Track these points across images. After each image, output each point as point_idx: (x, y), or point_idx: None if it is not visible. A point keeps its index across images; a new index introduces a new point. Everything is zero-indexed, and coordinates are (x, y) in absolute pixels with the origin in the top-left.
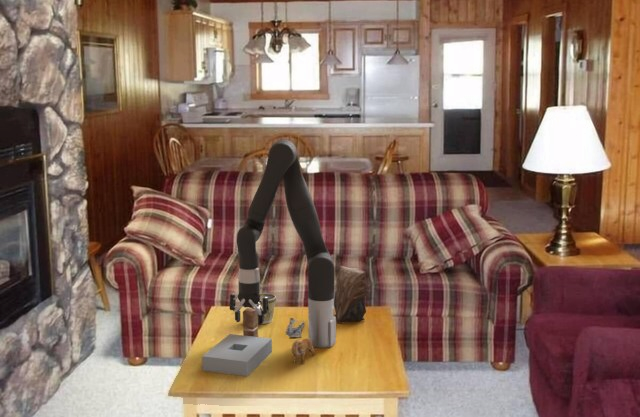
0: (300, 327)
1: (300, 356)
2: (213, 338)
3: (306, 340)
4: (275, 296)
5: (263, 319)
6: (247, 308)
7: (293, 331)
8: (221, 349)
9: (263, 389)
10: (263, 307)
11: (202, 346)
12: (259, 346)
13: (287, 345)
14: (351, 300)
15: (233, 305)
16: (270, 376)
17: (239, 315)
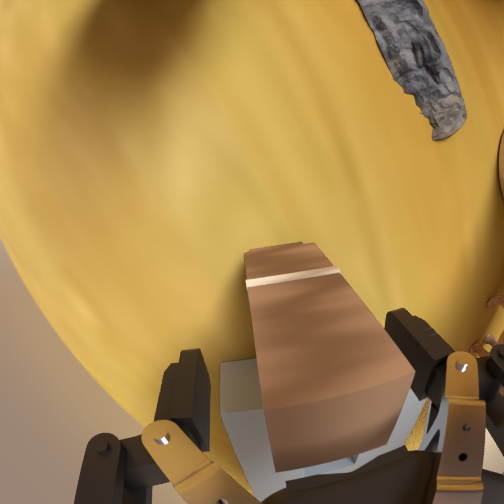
0: (422, 12)
1: (487, 306)
2: (79, 302)
3: None
4: None
5: (431, 333)
6: (274, 413)
7: (424, 63)
8: (285, 483)
9: (411, 450)
10: (494, 433)
11: (117, 384)
12: (404, 426)
13: (449, 231)
14: None
15: (108, 470)
16: (421, 423)
17: (201, 401)
